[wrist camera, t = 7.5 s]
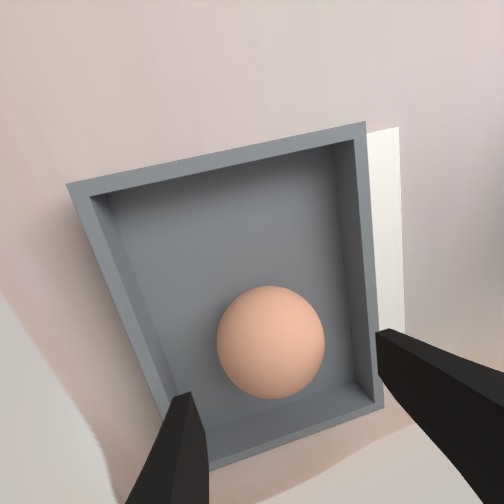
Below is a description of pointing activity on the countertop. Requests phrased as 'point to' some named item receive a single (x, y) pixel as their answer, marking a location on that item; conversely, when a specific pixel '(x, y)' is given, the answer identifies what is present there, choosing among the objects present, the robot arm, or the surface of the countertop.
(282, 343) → the ball
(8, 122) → the countertop surface
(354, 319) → the tray
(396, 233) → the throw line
